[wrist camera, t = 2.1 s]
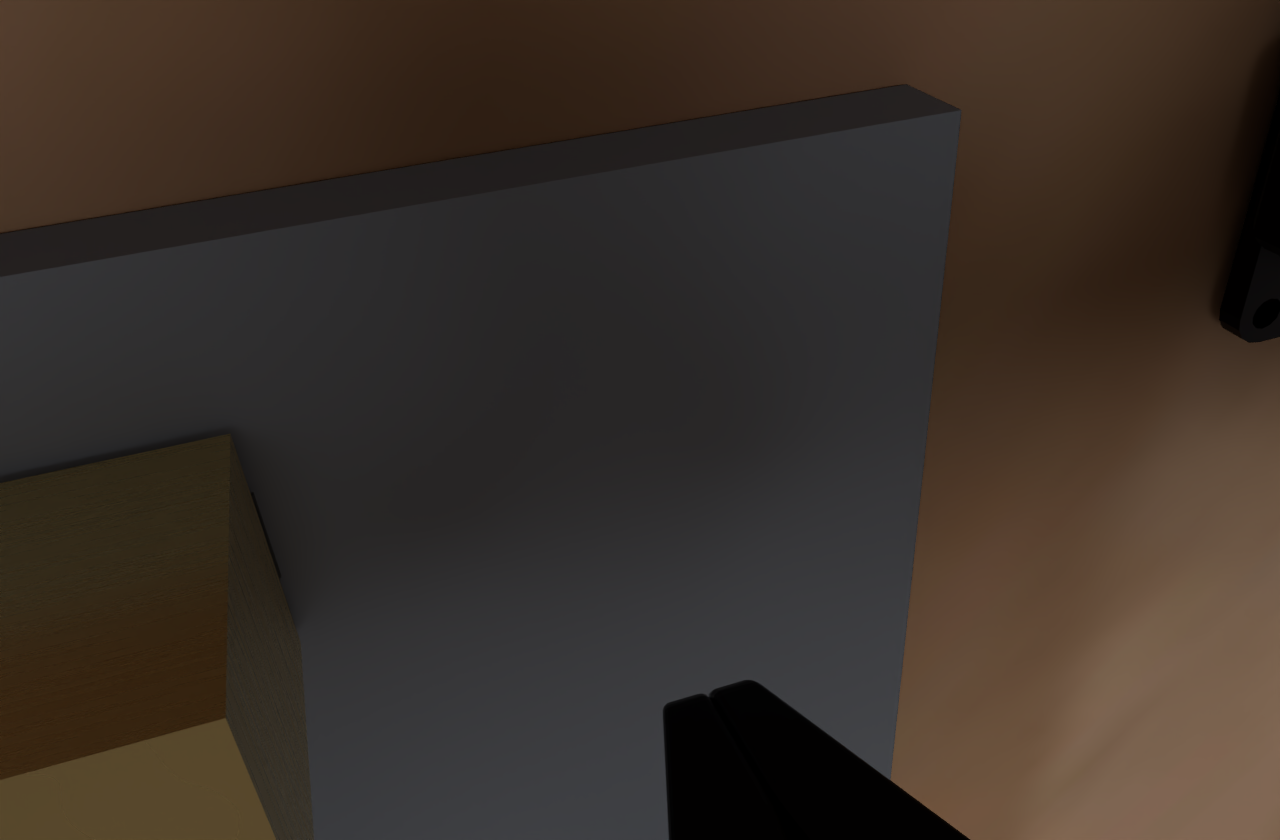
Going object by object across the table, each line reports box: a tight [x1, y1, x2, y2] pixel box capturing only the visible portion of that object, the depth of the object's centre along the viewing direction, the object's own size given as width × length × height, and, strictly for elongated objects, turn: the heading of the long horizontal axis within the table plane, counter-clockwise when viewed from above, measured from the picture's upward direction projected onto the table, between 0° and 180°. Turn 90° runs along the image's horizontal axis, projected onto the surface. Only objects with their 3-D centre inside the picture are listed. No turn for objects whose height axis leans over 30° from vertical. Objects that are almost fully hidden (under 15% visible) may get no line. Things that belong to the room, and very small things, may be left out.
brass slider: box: [0, 434, 314, 840], centre depth 10 cm, size 3×3×4 cm
